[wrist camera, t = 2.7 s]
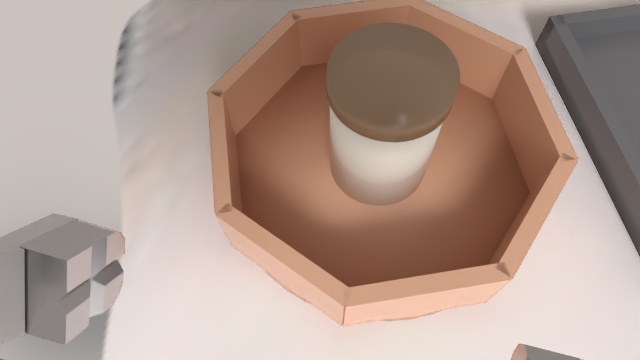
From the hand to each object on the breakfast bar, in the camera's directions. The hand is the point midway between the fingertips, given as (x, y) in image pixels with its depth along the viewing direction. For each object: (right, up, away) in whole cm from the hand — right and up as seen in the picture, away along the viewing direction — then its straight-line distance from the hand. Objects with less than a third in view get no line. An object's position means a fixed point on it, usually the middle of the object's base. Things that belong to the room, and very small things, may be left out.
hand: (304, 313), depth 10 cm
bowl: (+4, +3, +19) cm, 20 cm away
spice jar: (+4, +4, +18) cm, 19 cm away
